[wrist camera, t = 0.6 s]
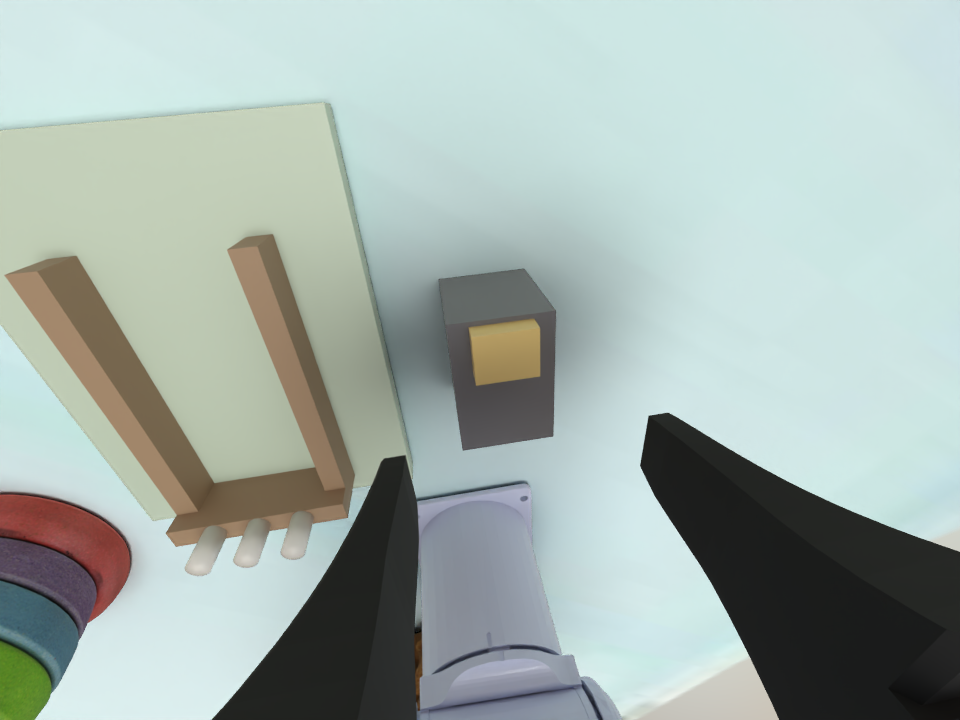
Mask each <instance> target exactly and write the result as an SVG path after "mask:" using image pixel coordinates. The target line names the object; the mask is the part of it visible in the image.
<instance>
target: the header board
mask: <svg viewBox="0 0 960 720" xmlns="http://www.w3.org/2000/svg"><path fill="white" fill-rule="evenodd" d="M0 325H1V326H2V327H3V328H4V330H5V331H6V332H7V334H8V335H9V336H10V338H11V339H12V340H13V341H14V343H15V344H16V345H17V347H18V348H19V349H20V350H21V352H22V353H23V354H24V356H25V357H26V358H27V359H28V361H29V362H30V363H31V365H32V366H33V367H34V368H35V370H36V371H37V372H38V374H39V375H40V376H41V377H42V379H43V380H44V381H45V383H46V384H47V385H48V387H49V388H50V389H51V390H52V392H53V393H54V394H55V396H56V397H57V398H58V399H59V401H60V402H61V403H62V405H63V406H64V407H65V408H66V410H67V411H68V412H69V414H70V415H71V416H72V417H73V419H74V420H75V421H76V423H77V424H78V425H79V426H80V428H81V429H82V430H83V432H84V433H85V434H86V436H87V437H88V438H89V439H90V441H91V442H92V443H93V445H94V446H95V447H96V448H97V450H98V451H99V452H100V454H101V455H102V456H103V457H104V459H105V460H106V461H107V463H108V464H109V465H110V466H111V468H112V469H113V470H114V472H115V473H116V474H117V475H118V477H119V478H120V479H121V481H122V482H123V483H124V485H125V486H126V487H127V488H128V490H129V491H130V492H131V494H132V495H133V496H134V497H135V499H136V500H137V501H138V503H139V504H140V505H141V506H142V508H143V509H144V510H145V512H146V513H147V514H148V515H149V517H150V518H151V519H152V521H156V520H163V519H169V518H175V519H174V521H173V522H172V524H171V526H170V527H169V529H168V531H167V532H166V534H167V536H168V537H169V538H170V539H171V541H172V542H173V543H174V545H175V546H176V547H177V546H183V545H189V544H195V543H197V545H196V547H195V548H194V550H193V552H192V554H191V556H190V558H189V560H188V562H187V564H186V566H185V571H186V572H187V573H189V574H191V575H194V576H204V575H207V574H209V573H210V572H211V569H212V567H213V565H214V563H215V561H216V558H217V556H218V554H219V552H220V550H221V547H222V545H223V543H224V541H225V539H226V538H231V537H237V536H243V537H242V539H241V542H240V544H239V547H238V549H237V551H236V554H235V556H234V559H233V562H234V563H235V564H236V565H237V566H239V567H243V568H250V567H253V566H255V565H257V564H258V562H259V559H260V556H261V553H262V550H263V548H264V545H265V542H266V539H267V536H268V533H269V531H272V530H278V529H284V528H288V530H287V533H286V536H285V539H284V543H283V546H282V549H281V555H282V556H283V557H284V558H287V559H291V560H295V559H300V558H302V557H303V556H304V555H305V551H306V547H307V543H308V539H309V536H310V532H311V528H312V524H314V523H320V522H326V521H332V520H338V519H343V518H348V513H349V507H350V501H351V495H352V489H353V488H359V487H365V486H371V485H372V483H373V481H374V478H375V476H376V473H377V471H378V468H379V466H380V463H381V461H382V460H383V459H384V458H390V457H396V456H402V455H406V459H407V463H408V467H409V471H410V475H411V479H413V462H412V458H411V453H410V449H409V445H408V440H407V436H406V432H405V427H404V423H403V419H402V414H401V410H400V406H399V401H398V397H397V392H396V388H395V384H394V379H393V375H392V371H391V366H390V362H389V358H388V353H387V349H386V345H385V340H384V336H383V332H382V327H381V323H380V318H379V314H378V310H377V305H376V301H375V297H374V292H373V288H372V284H371V279H370V275H369V271H368V266H367V262H366V257H365V253H364V249H363V244H362V240H361V236H360V231H359V227H358V223H357V218H356V214H355V210H354V205H353V201H352V196H351V192H350V188H349V183H348V179H347V175H346V170H345V166H344V162H343V157H342V153H341V149H340V144H339V140H338V136H337V131H336V127H335V122H334V118H333V114H332V109H331V105H330V104H328V103H313V104H301V105H289V106H278V107H266V108H255V109H243V110H231V111H220V112H208V113H197V114H185V115H173V116H162V117H150V118H139V119H127V120H115V121H104V122H92V123H81V124H69V125H58V126H46V127H34V128H23V129H11V130H0Z"/></svg>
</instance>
